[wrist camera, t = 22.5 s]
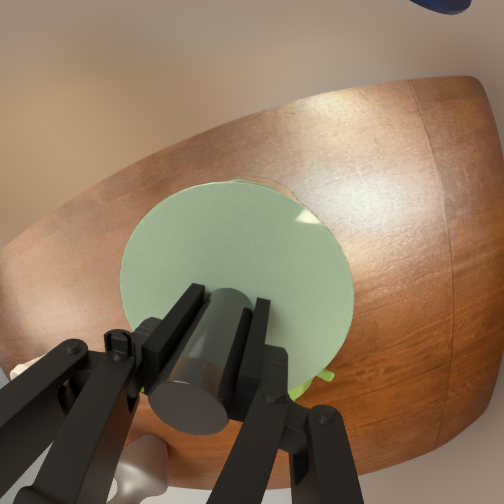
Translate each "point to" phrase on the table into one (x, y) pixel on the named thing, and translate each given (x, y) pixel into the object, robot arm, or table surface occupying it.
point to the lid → (234, 292)
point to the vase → (141, 470)
